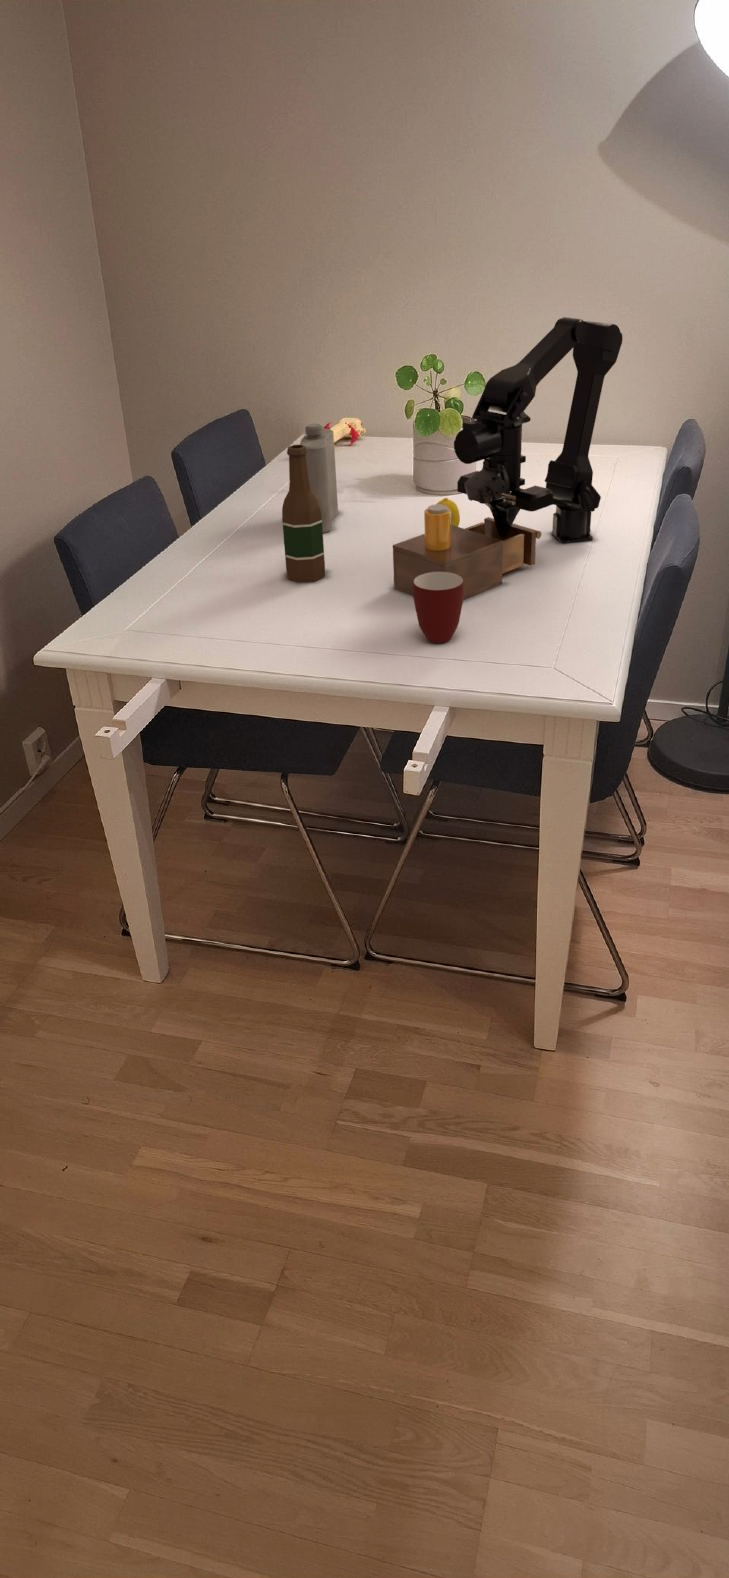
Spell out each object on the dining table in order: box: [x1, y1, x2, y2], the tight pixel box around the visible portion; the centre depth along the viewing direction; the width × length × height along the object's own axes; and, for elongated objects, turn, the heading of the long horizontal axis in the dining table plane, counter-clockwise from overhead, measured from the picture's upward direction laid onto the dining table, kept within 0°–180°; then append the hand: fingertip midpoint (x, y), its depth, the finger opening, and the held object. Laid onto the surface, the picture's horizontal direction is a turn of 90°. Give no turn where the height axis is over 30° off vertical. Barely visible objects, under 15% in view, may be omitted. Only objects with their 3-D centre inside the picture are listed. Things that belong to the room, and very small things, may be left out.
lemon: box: [436, 497, 461, 527], centre depth 218 cm, size 6×6×8 cm
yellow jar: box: [423, 503, 451, 551], centre depth 190 cm, size 5×5×7 cm
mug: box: [412, 572, 464, 644], centre depth 177 cm, size 10×8×10 cm
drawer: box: [464, 516, 542, 575], centre depth 203 cm, size 18×12×6 cm, turn 132°
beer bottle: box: [281, 444, 326, 583], centre depth 199 cm, size 8×8×24 cm
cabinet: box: [392, 525, 503, 601], centre depth 196 cm, size 15×13×8 cm
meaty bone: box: [323, 417, 367, 446], centre depth 279 cm, size 10×9×25 cm
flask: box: [299, 423, 339, 534], centre depth 226 cm, size 15×6×20 cm, turn 173°
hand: (503, 536), depth 203 cm, fingers closed, pressing on drawer
